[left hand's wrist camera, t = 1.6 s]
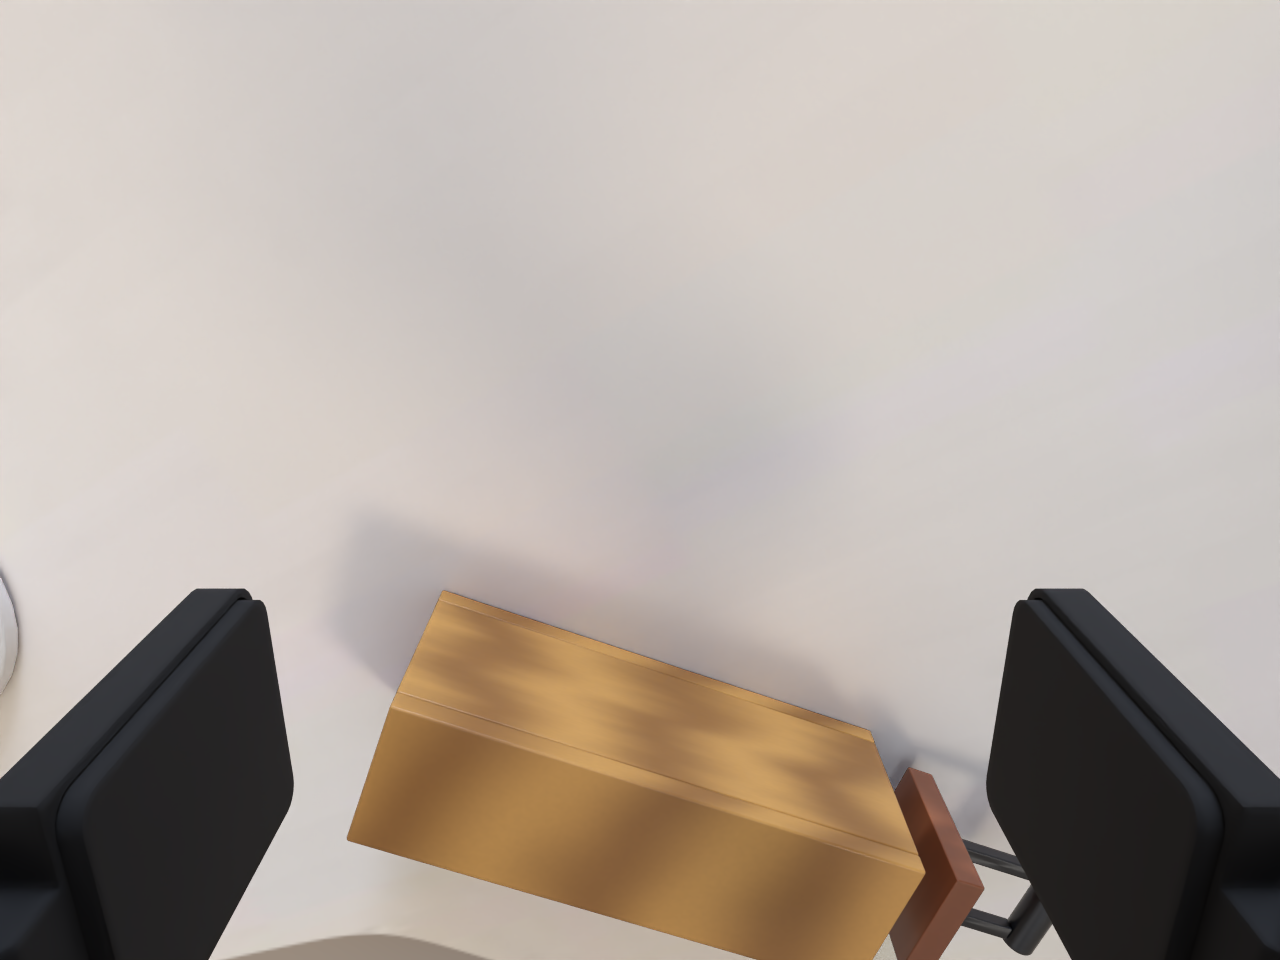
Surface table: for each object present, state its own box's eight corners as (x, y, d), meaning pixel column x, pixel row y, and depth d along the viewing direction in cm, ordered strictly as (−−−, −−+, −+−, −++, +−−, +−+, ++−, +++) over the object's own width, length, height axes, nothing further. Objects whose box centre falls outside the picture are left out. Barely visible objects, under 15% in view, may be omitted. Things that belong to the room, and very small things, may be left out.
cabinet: (870, 730, 41) (927, 873, 33) (814, 831, 43) (855, 989, 35) (442, 589, 38) (389, 706, 30) (404, 703, 40) (345, 841, 32)
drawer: (1047, 811, 41) (1121, 931, 35) (996, 889, 43) (1058, 1017, 36) (531, 643, 38) (509, 740, 32) (496, 733, 40) (469, 843, 33)
